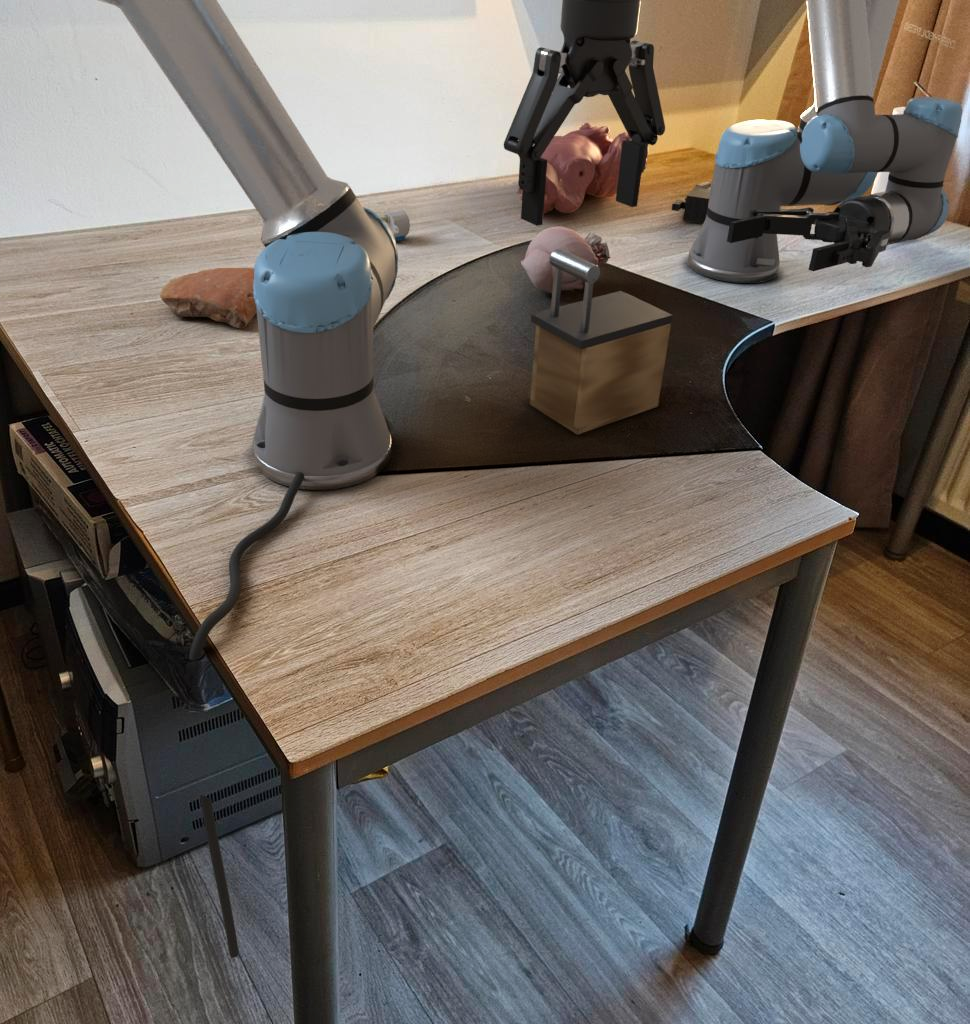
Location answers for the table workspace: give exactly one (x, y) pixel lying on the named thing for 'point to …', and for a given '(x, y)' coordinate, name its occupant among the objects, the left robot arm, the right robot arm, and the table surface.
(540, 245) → the toy
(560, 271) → the lid
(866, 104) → the right robot arm
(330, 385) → the left robot arm
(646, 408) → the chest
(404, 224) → the electric motor
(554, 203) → the reddish clay figurine
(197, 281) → the ceramic shard
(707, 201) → the toy
